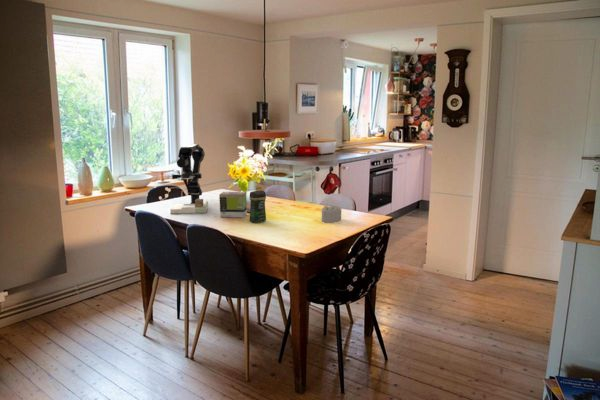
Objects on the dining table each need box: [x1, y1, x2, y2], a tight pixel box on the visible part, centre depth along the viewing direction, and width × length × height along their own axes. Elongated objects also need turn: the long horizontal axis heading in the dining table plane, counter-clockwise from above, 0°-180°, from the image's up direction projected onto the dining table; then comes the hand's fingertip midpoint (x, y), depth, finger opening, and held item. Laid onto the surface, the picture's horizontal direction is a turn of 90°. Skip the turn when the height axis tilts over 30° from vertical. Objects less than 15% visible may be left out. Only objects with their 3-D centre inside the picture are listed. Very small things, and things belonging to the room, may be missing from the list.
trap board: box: [169, 200, 209, 215], centre depth 307 cm, size 16×22×5 cm
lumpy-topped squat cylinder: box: [321, 205, 342, 224], centre depth 282 cm, size 10×13×9 cm
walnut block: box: [195, 198, 204, 207], centre depth 307 cm, size 4×4×4 cm
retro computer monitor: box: [218, 191, 248, 218], centre depth 293 cm, size 15×10×15 cm
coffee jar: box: [248, 189, 267, 224], centre depth 279 cm, size 10×8×19 cm
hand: (187, 188), depth 314 cm, fingers closed
